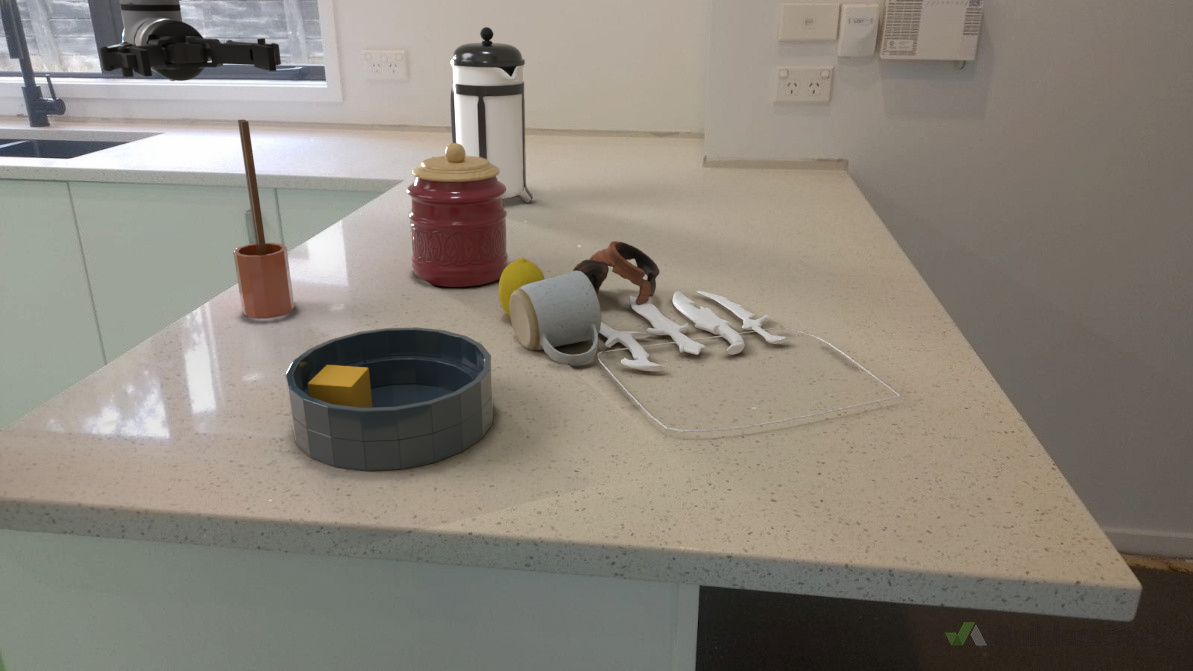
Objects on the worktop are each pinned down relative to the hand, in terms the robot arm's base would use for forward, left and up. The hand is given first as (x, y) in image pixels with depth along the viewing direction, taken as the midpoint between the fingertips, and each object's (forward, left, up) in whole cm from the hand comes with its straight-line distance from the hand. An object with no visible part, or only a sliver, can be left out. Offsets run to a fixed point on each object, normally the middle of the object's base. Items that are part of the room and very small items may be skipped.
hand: (211, 61), depth 96 cm
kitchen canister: (+27, +6, -28) cm, 39 cm away
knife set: (+55, -23, -28) cm, 66 cm away
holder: (+5, -8, -28) cm, 30 cm away
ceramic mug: (+39, -21, -28) cm, 53 cm away
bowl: (+23, -37, -28) cm, 52 cm away
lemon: (+35, -13, -28) cm, 47 cm away
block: (+18, -36, -27) cm, 49 cm away
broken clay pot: (+46, -7, -28) cm, 54 cm away
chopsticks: (+5, -9, -27) cm, 29 cm away
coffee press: (+30, +49, -28) cm, 64 cm away
